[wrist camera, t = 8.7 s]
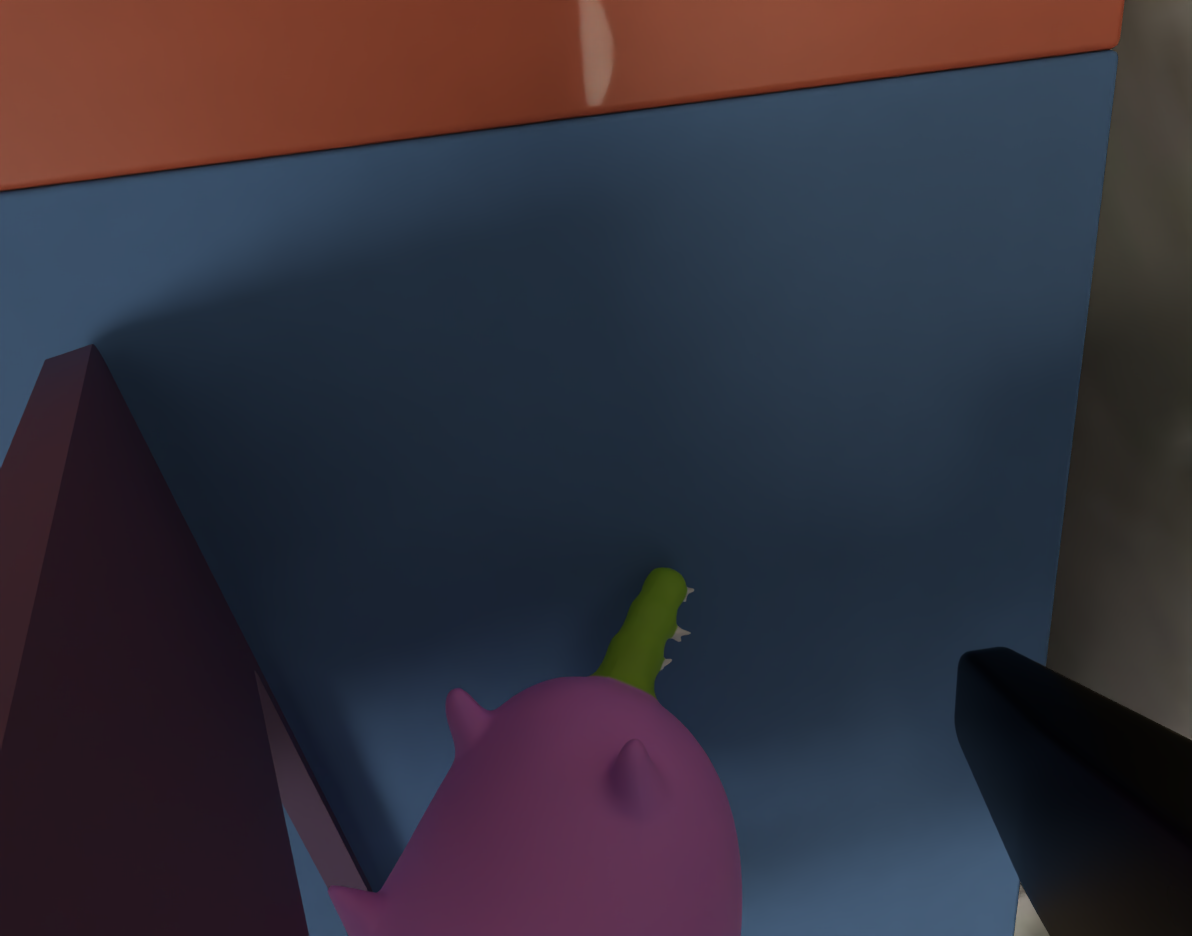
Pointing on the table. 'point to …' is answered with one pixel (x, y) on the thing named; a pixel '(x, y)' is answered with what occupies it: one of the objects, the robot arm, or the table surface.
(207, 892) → the purple toy figure
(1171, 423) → the table surface
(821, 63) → the red pad
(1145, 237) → the table surface
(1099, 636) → the table surface
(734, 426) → the blue pad
